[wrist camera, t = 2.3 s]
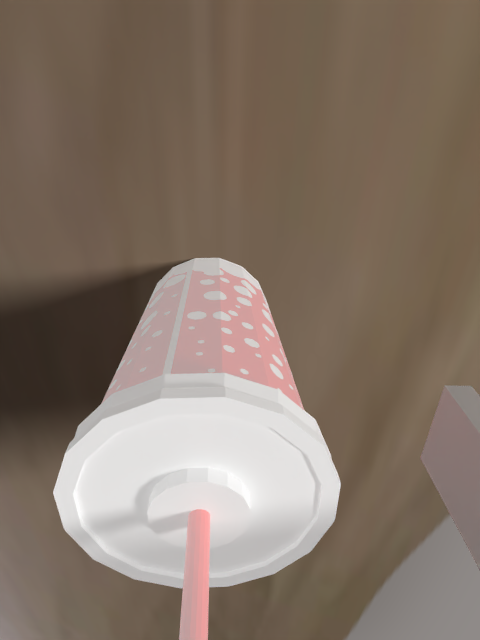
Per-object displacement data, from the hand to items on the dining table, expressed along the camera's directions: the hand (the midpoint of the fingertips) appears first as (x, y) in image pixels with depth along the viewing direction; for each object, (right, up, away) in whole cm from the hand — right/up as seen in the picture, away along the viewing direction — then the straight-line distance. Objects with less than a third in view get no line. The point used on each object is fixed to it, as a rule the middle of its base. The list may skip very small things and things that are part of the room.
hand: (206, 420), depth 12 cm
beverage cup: (0, +3, +5) cm, 6 cm away
